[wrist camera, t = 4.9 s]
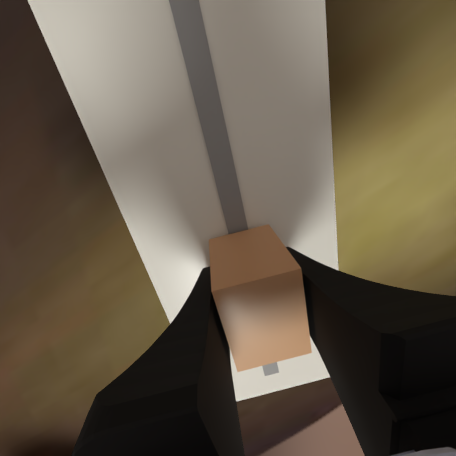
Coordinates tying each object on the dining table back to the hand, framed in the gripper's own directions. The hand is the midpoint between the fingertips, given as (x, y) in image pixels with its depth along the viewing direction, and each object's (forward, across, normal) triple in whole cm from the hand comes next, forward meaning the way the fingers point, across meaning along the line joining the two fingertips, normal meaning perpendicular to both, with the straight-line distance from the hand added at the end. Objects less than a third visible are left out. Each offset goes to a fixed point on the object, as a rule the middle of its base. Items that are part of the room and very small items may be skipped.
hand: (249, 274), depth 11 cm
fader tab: (+1, 0, 0) cm, 1 cm away
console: (+3, 0, -2) cm, 4 cm away
